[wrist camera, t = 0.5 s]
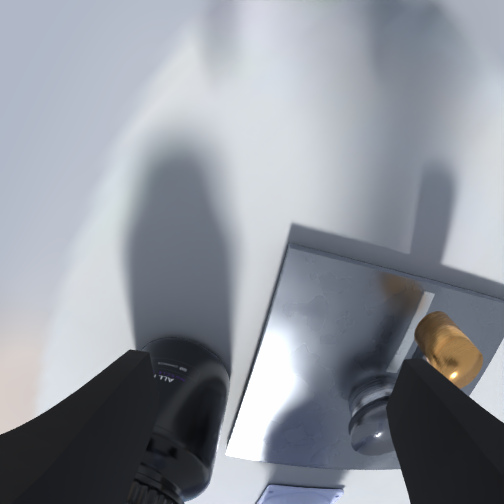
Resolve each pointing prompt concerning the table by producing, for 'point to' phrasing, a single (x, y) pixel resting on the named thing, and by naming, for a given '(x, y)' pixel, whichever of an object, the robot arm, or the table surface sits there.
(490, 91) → the table surface
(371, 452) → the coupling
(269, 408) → the base
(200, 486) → the supplement bottle
